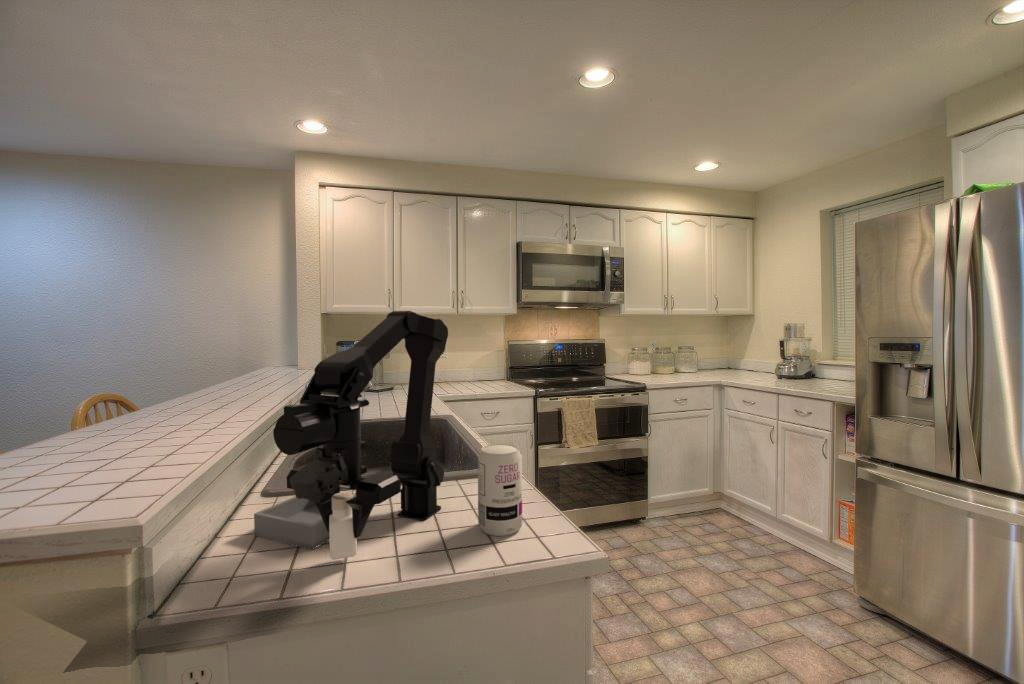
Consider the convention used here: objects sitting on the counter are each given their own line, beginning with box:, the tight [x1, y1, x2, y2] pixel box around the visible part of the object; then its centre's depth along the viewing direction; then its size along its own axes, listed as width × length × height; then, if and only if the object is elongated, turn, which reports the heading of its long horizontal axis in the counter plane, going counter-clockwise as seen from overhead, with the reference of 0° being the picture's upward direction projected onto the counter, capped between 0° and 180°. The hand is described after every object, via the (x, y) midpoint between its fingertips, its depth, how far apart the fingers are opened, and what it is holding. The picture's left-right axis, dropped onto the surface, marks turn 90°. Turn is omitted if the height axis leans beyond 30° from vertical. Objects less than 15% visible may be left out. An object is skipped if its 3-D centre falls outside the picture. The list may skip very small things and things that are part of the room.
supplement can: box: [477, 443, 523, 537], centre depth 86 cm, size 8×8×15 cm
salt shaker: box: [329, 491, 358, 561], centre depth 74 cm, size 4×4×10 cm
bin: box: [253, 494, 355, 550], centre depth 88 cm, size 14×14×4 cm
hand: (344, 534), depth 74 cm, fingers closed on salt shaker, 5 cm apart
